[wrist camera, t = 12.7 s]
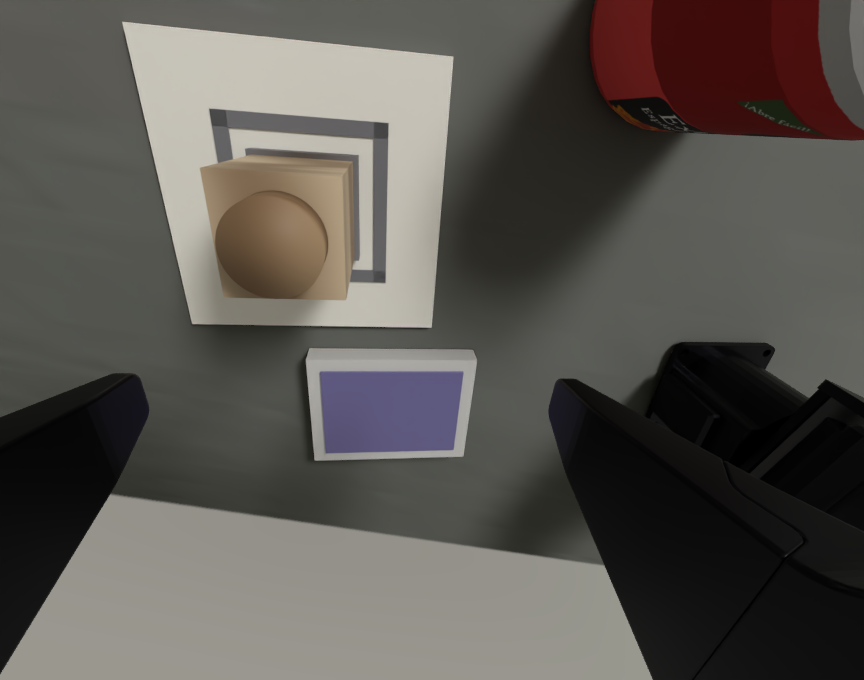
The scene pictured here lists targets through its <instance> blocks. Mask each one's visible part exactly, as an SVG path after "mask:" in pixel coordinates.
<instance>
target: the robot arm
mask: <svg viewBox="0 0 864 680" xmlns="http://www.w3.org/2000/svg"><path fill="white" fill-rule="evenodd" d="M684 349H685V350H684ZM683 350H684V351H683ZM682 351H683V352H682ZM774 352H775V348H774V347H773V346H771V345H769V344H767V343H727V342H681V343H679V344H677V345H676V346H675V347H674V349H673V351H672V353H671V356H670V358H669V361H668V363H667V366H666V368H665V371H664V373H663V375H662V378H661V380H660V383H659V385H658V388H657V390H656V393H655V395H654V398H653V400H652V402H651V405H650V407H649V410H648V412H647V415H646V417H644V416H642V415H641V414H639V413H637V412H635V411H633V410H631V409H630V408H628V407H626V406H624V405H622V404H620V403H619V402H617V401H615V400H613V399H611V398H610V397H608V396H606V395H604V394H602V393H600V392H599V391H597V390H595V389H593V388H591V387H589V386H588V385H586V384H584V383H582V382H580V381H578V380H577V379H558V380H557V381H556V383H555V385H554V389H553V393H552V397H551V401H550V405H549V419H550V422H551V426H552V429H553V432H554V436H555V439H556V442H557V446H558V449H559V453H560V456H561V459H562V463H563V466H564V469H565V472H566V475H567V478H568V480H569V483H570V485H571V487H572V490H573V492H574V494H575V497H576V499H577V502H578V504H579V506H580V509H581V511H582V513H583V516H584V518H585V520H586V523H587V525H588V528H589V530H590V532H591V535H592V537H593V539H594V542H595V544H596V546H597V549H598V551H599V554H600V556H601V558H602V561H603V563H604V565H605V568H606V570H607V572H608V575H609V577H610V580H611V582H612V584H613V587H614V589H615V591H616V594H617V596H618V598H619V601H620V603H621V605H622V608H623V610H624V613H625V615H626V617H627V620H628V622H629V624H630V627H631V629H632V632H633V634H634V636H635V639H636V641H637V643H638V646H639V648H640V650H641V652H642V655H643V657H644V660H645V662H646V665H647V667H648V669H649V672H650V674H651V676H652V679H653V680H864V398H863V397H861V396H859V395H857V394H855V393H853V392H851V391H849V390H847V389H845V388H843V387H841V386H839V385H837V384H835V383H833V382H831V381H829V380H825V381H824V382H823V383H821V384H820V385H819V386H818V387H817V388H818V389H819V390H818V391H816V392H815V393H814V394H813V395H812V396H811V397H810V398H808V397H806V396H805V395H803V394H802V393H800V392H799V391H797V390H795V389H794V388H792V387H791V386H789V385H788V384H786V383H785V382H783V381H782V380H780V379H779V378H777V377H775V376H774V375H772V374H771V373H769V372H768V371H766V370H765V369H766V367H767V365H768V363H769V361H770V360H771V358H772V356H773V354H774ZM148 415H149V405H148V402H147V398H146V395H145V392H144V389H143V385H142V382H141V380H140V378H139V377H138V376H137V375H136V374H132V373H114V374H110V375H108V376H105V377H102V378H100V379H97V380H95V381H92V382H90V383H87V384H85V385H82V386H79V387H77V388H74V389H72V390H69V391H67V392H64V393H61V394H59V395H56V396H54V397H51V398H49V399H46V400H44V401H41V402H38V403H36V404H33V405H31V406H28V407H26V408H23V409H20V410H18V411H15V412H13V413H10V414H8V415H5V416H3V417H0V674H1V672H2V670H3V669H4V667H5V665H6V664H7V662H8V661H9V659H10V657H11V656H12V654H13V652H14V651H15V649H16V647H17V646H18V644H19V643H20V641H21V639H22V638H23V636H24V634H25V632H26V630H27V629H28V628H29V626H30V625H31V623H32V621H33V619H34V618H35V616H36V615H37V613H38V611H39V610H40V608H41V606H42V605H43V603H44V602H45V600H46V598H47V597H48V595H49V593H50V592H51V590H52V589H53V587H54V585H55V584H56V582H57V580H58V579H59V577H60V575H61V574H62V572H63V570H64V569H65V567H66V566H67V564H68V562H69V560H70V559H71V557H72V556H73V554H74V552H75V551H76V549H77V548H78V546H79V544H80V542H81V541H82V539H83V538H84V536H85V534H86V533H87V531H88V530H89V528H90V526H91V525H92V523H93V521H94V520H95V518H96V516H97V515H98V513H99V511H100V510H101V508H102V507H103V505H104V503H105V502H106V500H107V498H108V497H109V495H110V493H111V492H112V490H113V488H114V487H115V485H116V483H117V481H118V479H119V477H120V475H121V473H122V471H123V469H124V467H125V465H126V463H127V461H128V459H129V457H130V454H131V452H132V450H133V448H134V446H135V444H136V442H137V440H138V437H139V435H140V433H141V431H142V429H143V427H144V425H145V422H146V420H147V418H148ZM670 430H671V431H670Z"/></svg>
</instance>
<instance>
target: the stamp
mask: <svg viewBox="0 0 864 680" xmlns="http://www.w3.org/2000/svg"><path fill="white" fill-rule="evenodd" d="M245 153H246V156H244V157H240V158H236V159H232V160H228V161H224V162H220V163H216V164H213V165H209V166H205V167H201V168H200V172H201V178H202V183H203V188H204V194H205V199H206V205H207V210H208V215H209V221H210V226H211V232H212V237H213V243H214V248H215V253H216V259H217V264H218V270H219V275H220V280H221V286H222V291H223V297H224V298H264V299H308V300H346V298H347V293H348V288H349V283H350V277H351V272H352V267H353V262H354V261H359V258H360V226H359V155H351V154H336V153H322V152H307V151H293V150H279V149H264V148H246V149H245Z"/></svg>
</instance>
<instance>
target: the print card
mask: <svg viewBox="0 0 864 680" xmlns="http://www.w3.org/2000/svg"><path fill="white" fill-rule="evenodd" d="M122 23H123V27H124V32H125V36H126V40H127V45H128V49H129V53H130V57H131V62H132V66H133V70H134V75H135V79H136V83H137V88H138V92H139V96H140V101H141V105H142V109H143V114H144V118H145V122H146V127H147V131H148V135H149V140H150V144H151V148H152V153H153V157H154V161H155V166H156V170H157V174H158V179H159V183H160V187H161V191H162V196H163V200H164V204H165V209H166V213H167V217H168V222H169V226H170V230H171V235H172V239H173V243H174V248H175V252H176V256H177V261H178V265H179V269H180V274H181V278H182V282H183V287H184V291H185V295H186V300H187V304H188V308H189V312H190V317H191V321H192V324H221V325H287V326H353V327H419V328H432V317H433V304H434V292H435V279H436V267H437V254H438V242H439V230H440V217H441V205H442V192H443V180H444V167H445V155H446V142H447V130H448V117H449V105H450V92H451V80H452V68H453V57H451V56H442V55H432V54H423V53H413V52H404V51H394V50H385V49H375V48H366V47H356V46H347V45H337V44H328V43H319V42H309V41H300V40H290V39H281V38H271V37H262V36H252V35H243V34H233V33H224V32H214V31H205V30H195V29H186V28H176V27H167V26H157V25H148V24H138V23H129V22H122ZM246 148H264V149H279V150H293V151H307V152H322V153H336V154H351V155H359V226H360V258H359V261H354V262H353V267H352V272H351V277H350V283H349V288H348V293H347V298H346V300H308V299H264V298H224V297H223V291H222V286H221V280H220V275H219V270H218V264H217V259H216V253H215V248H214V243H213V237H212V232H211V226H210V221H209V215H208V210H207V205H206V199H205V194H204V188H203V183H202V178H201V172H200V168H201V167H205V166H209V165H213V164H216V163H220V162H224V161H228V160H232V159H236V158H240V157H244V156H246V153H245V149H246Z"/></svg>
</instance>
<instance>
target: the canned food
mask: <svg viewBox="0 0 864 680" xmlns="http://www.w3.org/2000/svg"><path fill="white" fill-rule="evenodd" d="M589 38H590V59H591V64H592V69H593V74H594V78H595V81H596V83H597V85H598V88H599V90H600V93H601V94H602V96H603V97H604V99H605V100H606V102H607V103H608V105H609V106H610V107H611V108H612V109H613V110H614V111H616V112H617V113H618V114H619V115H620V116H621V117H622V118H624V119H625V120H626V121H627V122H629V123H631V124H633V125H635V126H637V127H639V128H641V129H646V130H652V131H660V132H681V133H703V134H724V135H746V136H768V137H789V138H811V139H832V140H864V0H595V4H594V8H593V12H592V18H591V27H590V36H589Z"/></svg>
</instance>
